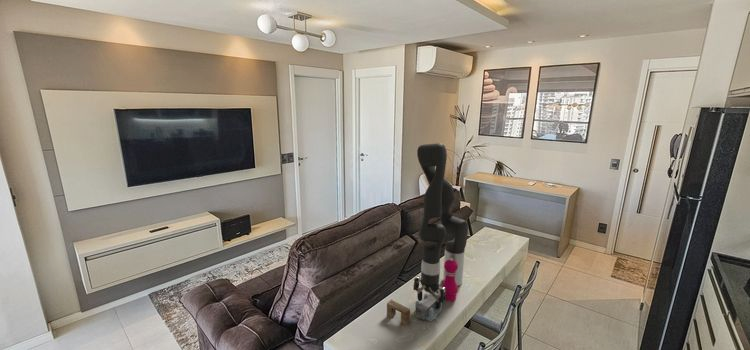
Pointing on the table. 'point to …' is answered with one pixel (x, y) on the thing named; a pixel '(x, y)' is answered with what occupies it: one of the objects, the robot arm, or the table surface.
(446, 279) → the pepper mill
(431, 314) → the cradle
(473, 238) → the table surface
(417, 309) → the steel bar
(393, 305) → the wooden arch block
